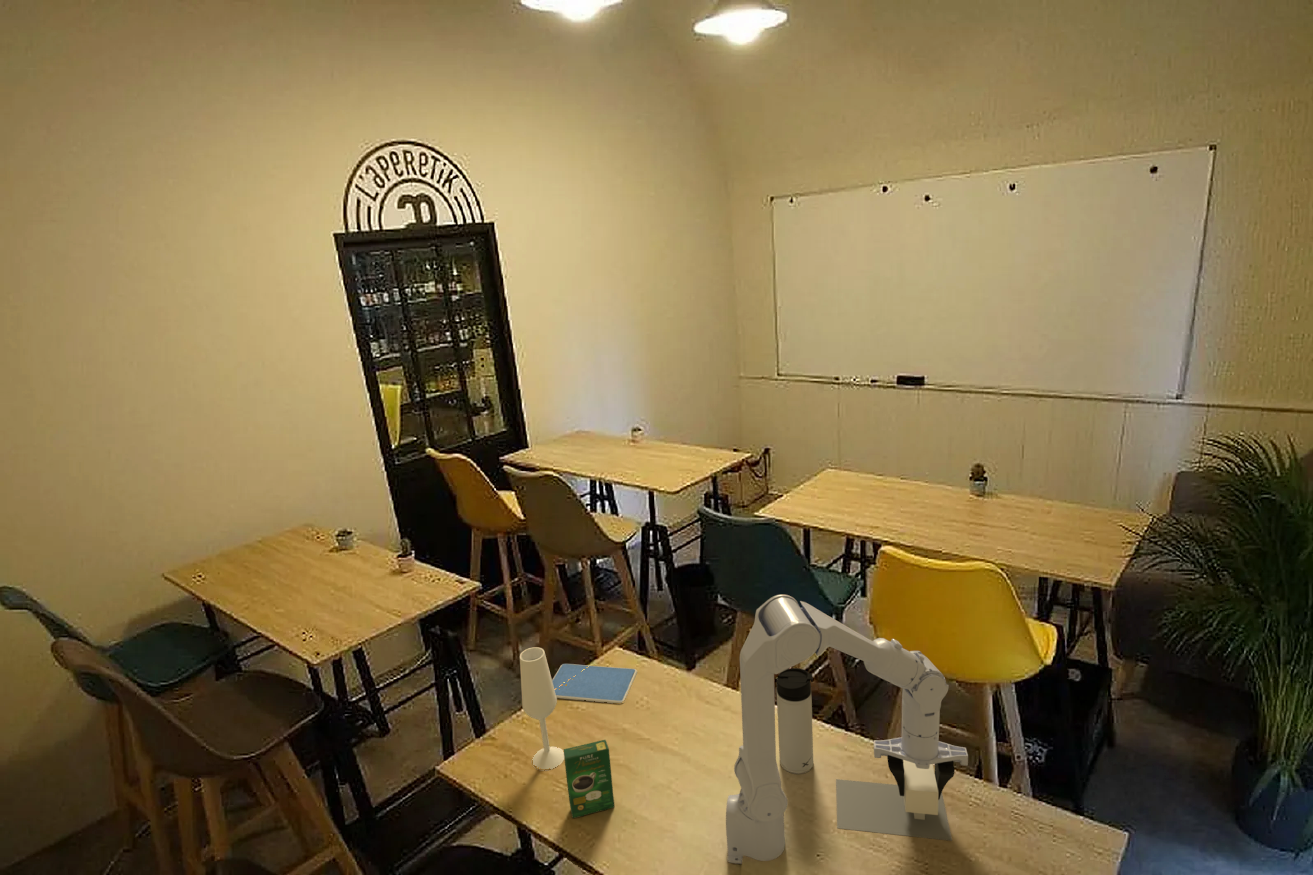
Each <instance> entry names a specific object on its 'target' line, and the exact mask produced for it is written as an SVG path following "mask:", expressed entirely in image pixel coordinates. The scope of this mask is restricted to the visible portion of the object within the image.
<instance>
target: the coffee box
mask: <svg viewBox="0 0 1313 875" xmlns="http://www.w3.org/2000/svg"><path fill="white" fill-rule="evenodd" d="M608 745H609V744H608V743H607V740H606V739H602V740H598V741H594V742H593V741H592V742H589V743H585V744H579V745H577V746H571V747H568V748H563V751H564V768H565V776H566V777H565V778H566V786H567V795H568V802H569V807H570V813H571V818H572V819H575V818H580V817H581V816H582V817H584V815H585V816H587V815H591V814H594V813H598V812H602V811H607V810H610V809H613V808H615V799H614V798H615V797H614V790H613V777H612V767H611V758H610V756H611V755H610V748H609V746H608Z"/></svg>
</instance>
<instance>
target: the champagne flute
mask: <svg viewBox="0 0 1313 875" xmlns="http://www.w3.org/2000/svg"><path fill="white" fill-rule="evenodd" d="M546 656H547V655H546V653H545V650H544V648H542V647H537V646H536V647H529V648H526V649H525V650H523V651H522V652H520V654H519V667H520V686H521V687H520V688H521V703H522V704H521V705H522V710H523V711H524V713H525V714H526V715H527V716H529V718H532V719H535V720H538V721H539V727H540V732H541V739H542V744H543V745H542V748H541V749H540V750H539V749H538V750H537V751H536V752H537V753H536V752H535V753H536V754H535V753H534V754H535V755H534V754H533V756H534V757H533V756H532V758H533V759H531V761H532V760H533V765H535V766H537V768H538V767H539V769H540V768H541V769H549V768H550V769H551V770H553V768H554V769H556V768H558V767H559V766H560V765H561V764H562V763H563V762H564V761H565V759H564V752H563V751H564V749H562V748H560V747H558V748H557V746H550V741H549V735H548V734H549V733H548V729H547V723H546V722H547V721H546V718H548V717H549V716H550V715H551V714H552V713H553V711H554V710H555V708H556V706H557V705H558V704H557V703H558V702H557V701H558V698H556V694H555V690H554V686H553V682H552V680H553V678H552V676H551V672H550V668H549V664H548V660H547V657H546ZM533 765H532V766H533ZM558 765H559V766H558ZM557 766H558V767H557ZM555 767H556V768H555Z"/></svg>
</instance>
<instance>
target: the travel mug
mask: <svg viewBox="0 0 1313 875" xmlns="http://www.w3.org/2000/svg"><path fill="white" fill-rule="evenodd" d="M775 681H776V706H777V707H776V708H777V726H778V727H777V728H778V729H777V730H778V748H779V749H778V751H779V752H778V753H779V764H780V767H781V768H782V769H783V770H784V771H786V772H787V773H790V774H794V775H803V774H807V773H808V772H810V771H811V769H813V766H814V742H813V741H814V737H813V707H812V706H813V703H812V684H811V683H813V682H814V677H813V674H812V672H808V671H807V670H805V669H803V668H797V667H790V668H788V669H786V670H784V671H782V672H780V673H778V674H777V678H776V680H775Z"/></svg>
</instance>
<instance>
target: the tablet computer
mask: <svg viewBox="0 0 1313 875" xmlns="http://www.w3.org/2000/svg"><path fill="white" fill-rule="evenodd" d="M588 666H589V667H588ZM586 667H588V668H586ZM583 669H585V670H583ZM582 670H583V671H582ZM581 671H582V672H581ZM637 674H638V670H637V669H635V668H628V667H613V666H600V665H599V666H598V665H585V664H574V663H562V664H561V665H560V667H559V668H558V670H557V672H555V674H554V676H553V678H552V682H553V686H554V689H555V688H557V689H556V690H555V694H556V698H557V699H564V700H575V701H584V700H586V702H594V701H595V702H596V703H604V702H607V703H606V704H613V703H622V702H623V701H624V700H625V698H626V699H627V697H628V695H629V693H628V691H629V689H630V690H631V688H632V686H633V684H632V683H634V681H635V679H636V677H637ZM575 675H576V676H575ZM573 676H575V677H573ZM570 678H571V679H570ZM568 679H570V680H569V681H568ZM572 679H573V680H572ZM567 681H568V682H567ZM563 682H565V683H563ZM561 684H563V686H560V685H561ZM566 684H567V686H565V685H566ZM631 685H632V686H631ZM559 686H560V687H559ZM630 687H631V688H630ZM559 689H560V690H559ZM629 692H630V691H629ZM627 694H628V695H627ZM626 696H627V697H626ZM625 701H626V700H625ZM595 702H594V703H595Z"/></svg>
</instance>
